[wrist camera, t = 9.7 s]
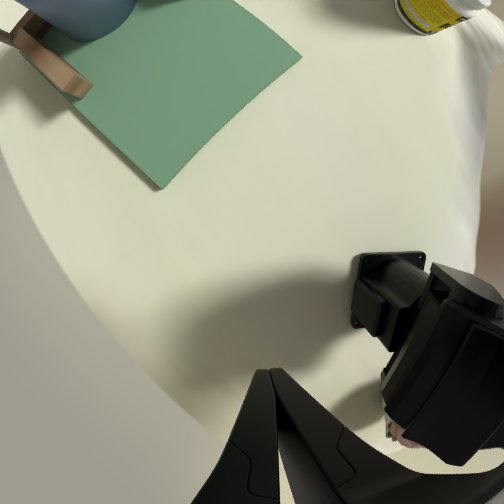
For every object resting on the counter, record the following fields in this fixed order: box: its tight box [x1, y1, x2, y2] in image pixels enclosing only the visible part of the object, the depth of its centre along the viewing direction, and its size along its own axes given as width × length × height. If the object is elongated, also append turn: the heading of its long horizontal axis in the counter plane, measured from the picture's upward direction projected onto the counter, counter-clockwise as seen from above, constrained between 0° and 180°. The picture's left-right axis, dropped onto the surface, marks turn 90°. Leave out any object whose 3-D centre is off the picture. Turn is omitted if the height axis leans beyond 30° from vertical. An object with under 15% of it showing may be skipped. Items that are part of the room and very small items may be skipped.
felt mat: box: [20, 0, 302, 189], centre depth 14 cm, size 19×13×1 cm
